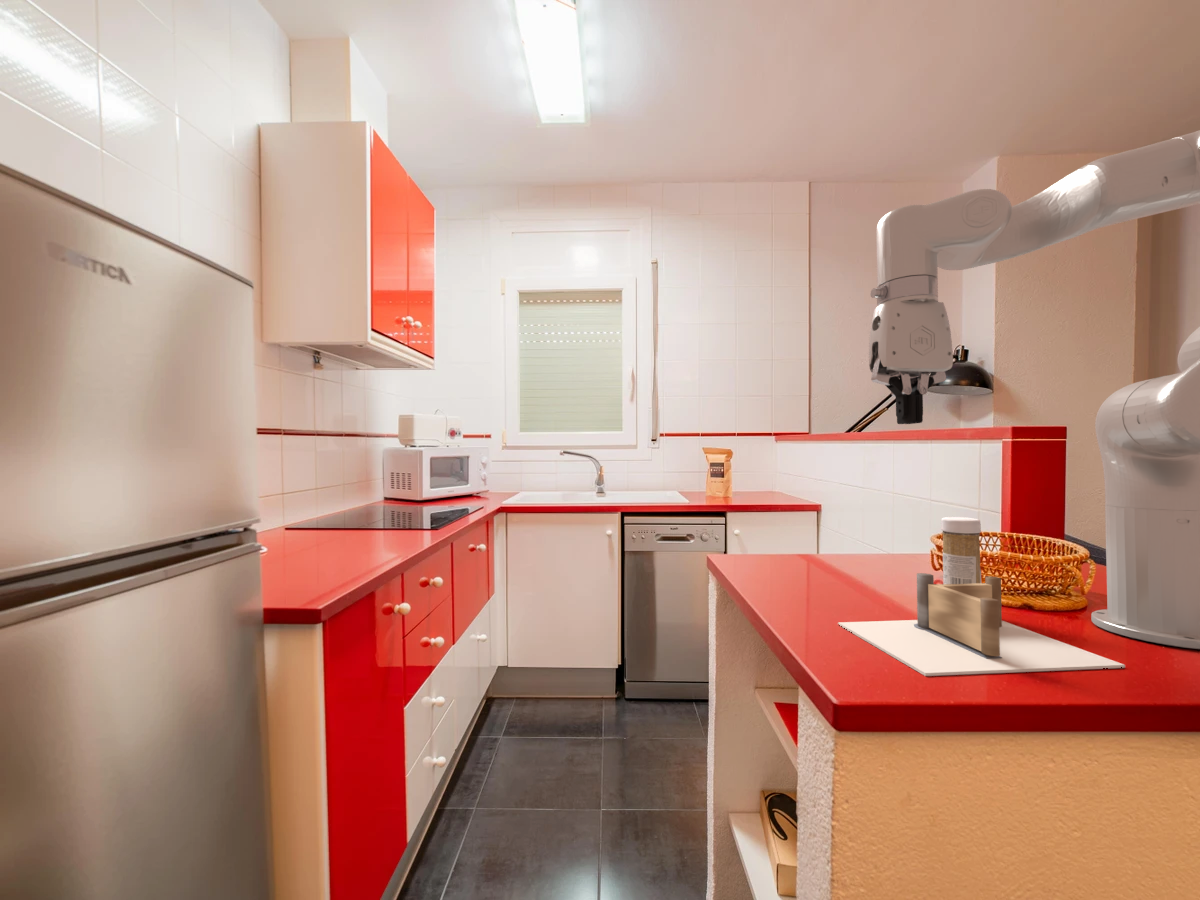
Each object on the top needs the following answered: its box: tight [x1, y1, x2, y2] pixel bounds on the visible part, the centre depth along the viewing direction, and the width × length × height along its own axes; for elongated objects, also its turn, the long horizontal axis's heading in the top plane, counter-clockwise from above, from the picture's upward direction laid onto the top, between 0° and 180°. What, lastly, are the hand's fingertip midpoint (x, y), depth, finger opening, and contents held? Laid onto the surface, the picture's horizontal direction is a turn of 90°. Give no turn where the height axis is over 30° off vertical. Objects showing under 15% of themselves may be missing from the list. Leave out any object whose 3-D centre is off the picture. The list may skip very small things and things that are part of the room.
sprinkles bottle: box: [940, 516, 982, 584], centre depth 72 cm, size 5×5×13 cm
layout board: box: [837, 619, 1126, 677], centre depth 60 cm, size 22×16×1 cm
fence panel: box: [928, 583, 1000, 656], centre depth 59 cm, size 9×2×6 cm, turn 4°
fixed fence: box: [916, 572, 1003, 629], centre depth 65 cm, size 11×2×7 cm, turn 95°
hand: (909, 423), depth 73 cm, fingers closed
